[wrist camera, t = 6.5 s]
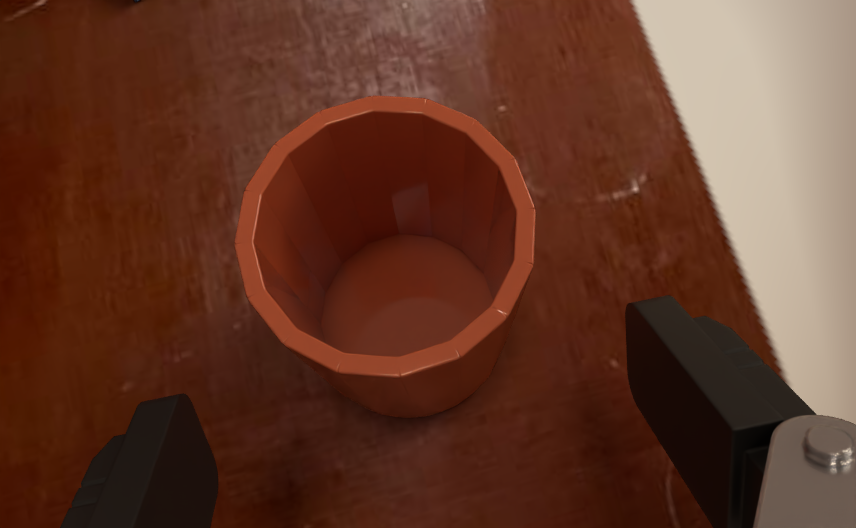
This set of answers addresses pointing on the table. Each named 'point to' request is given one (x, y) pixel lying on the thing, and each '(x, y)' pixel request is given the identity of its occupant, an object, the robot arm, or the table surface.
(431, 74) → the table surface
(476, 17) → the table surface
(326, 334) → the red cup
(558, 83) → the table surface
